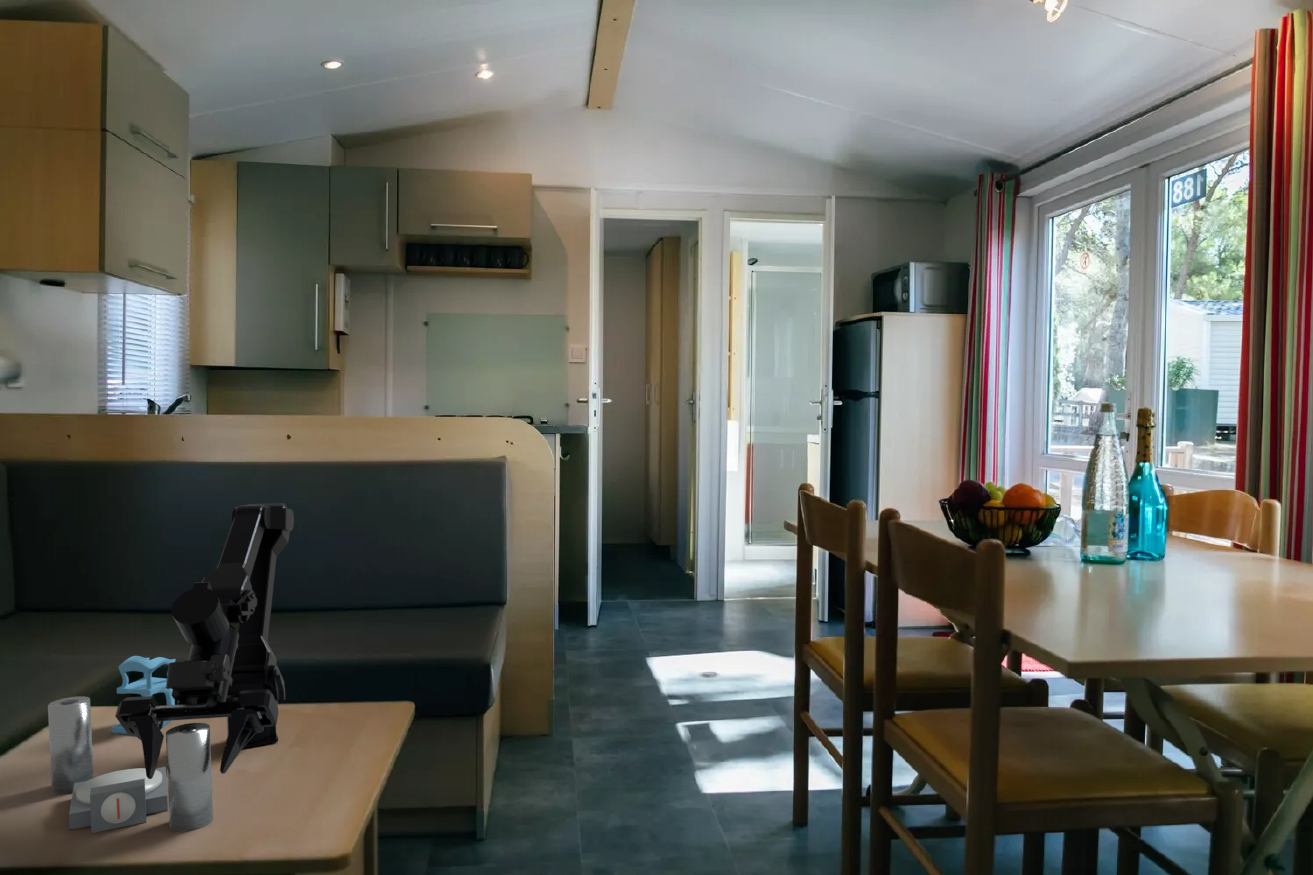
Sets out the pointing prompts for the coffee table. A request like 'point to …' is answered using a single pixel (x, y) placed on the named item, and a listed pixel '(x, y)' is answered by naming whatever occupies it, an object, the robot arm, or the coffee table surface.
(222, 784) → the coffee table surface
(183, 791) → the silver metal cylinder
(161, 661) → the chair
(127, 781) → the scale
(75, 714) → the cylinder
